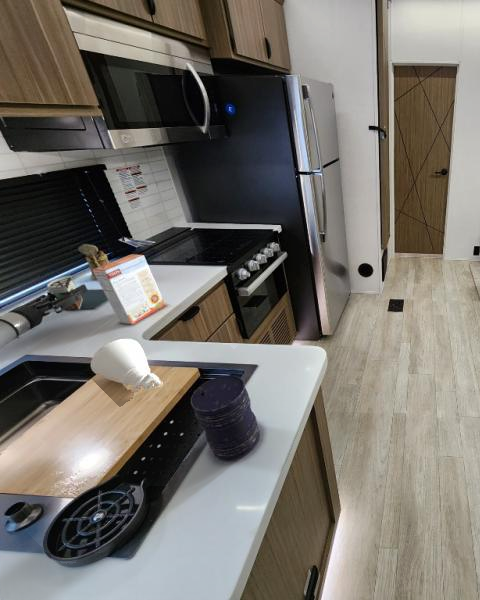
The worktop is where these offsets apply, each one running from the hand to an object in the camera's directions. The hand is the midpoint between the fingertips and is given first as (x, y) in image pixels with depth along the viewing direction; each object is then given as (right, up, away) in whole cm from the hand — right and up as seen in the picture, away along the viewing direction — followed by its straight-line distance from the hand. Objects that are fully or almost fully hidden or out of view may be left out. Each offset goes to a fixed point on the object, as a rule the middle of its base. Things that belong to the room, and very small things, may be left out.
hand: (78, 287), depth 124 cm
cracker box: (+27, -10, -3) cm, 29 cm away
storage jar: (+85, -36, -51) cm, 106 cm away
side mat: (-5, -4, +7) cm, 10 cm away
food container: (-3, -7, 0) cm, 8 cm away
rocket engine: (+50, -28, -36) cm, 67 cm away
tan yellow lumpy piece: (-13, +5, +25) cm, 29 cm away
